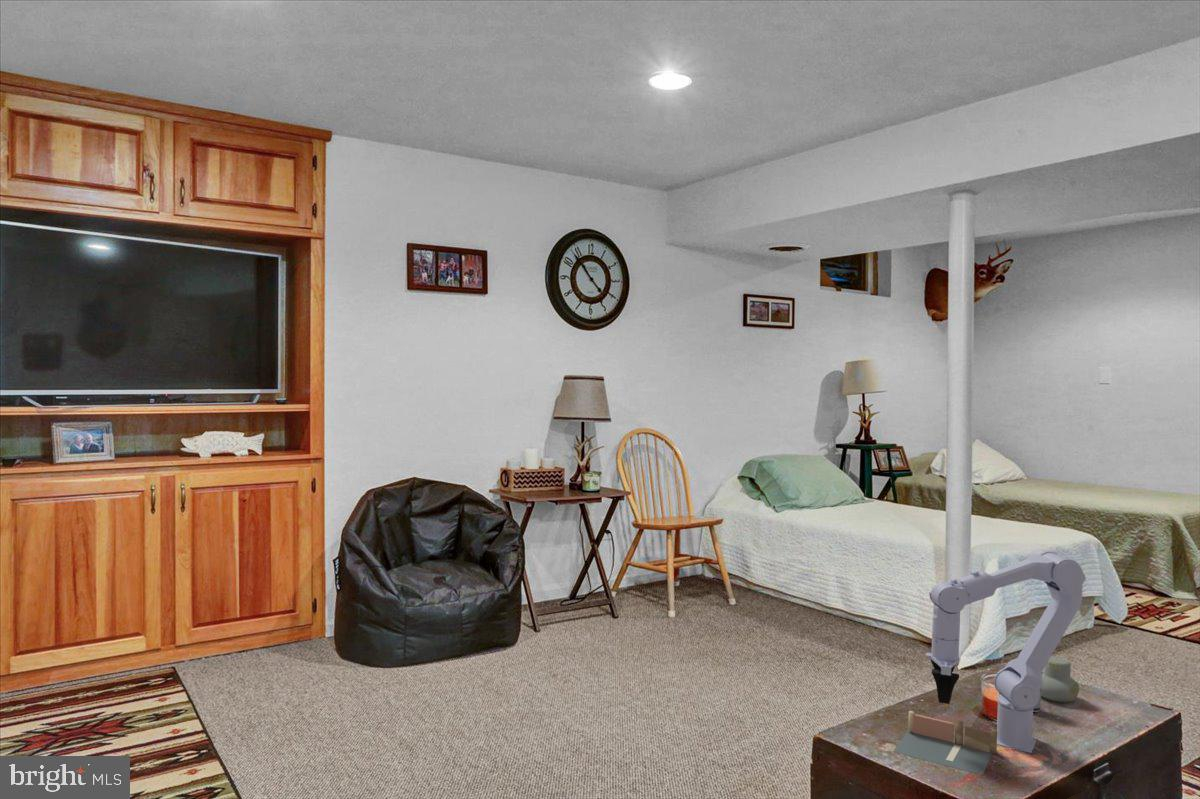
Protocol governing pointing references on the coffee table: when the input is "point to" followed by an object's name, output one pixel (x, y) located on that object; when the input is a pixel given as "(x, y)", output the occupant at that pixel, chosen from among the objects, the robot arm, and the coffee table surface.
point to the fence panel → (930, 727)
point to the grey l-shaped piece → (1059, 681)
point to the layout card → (943, 752)
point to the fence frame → (976, 738)
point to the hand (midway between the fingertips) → (943, 696)
